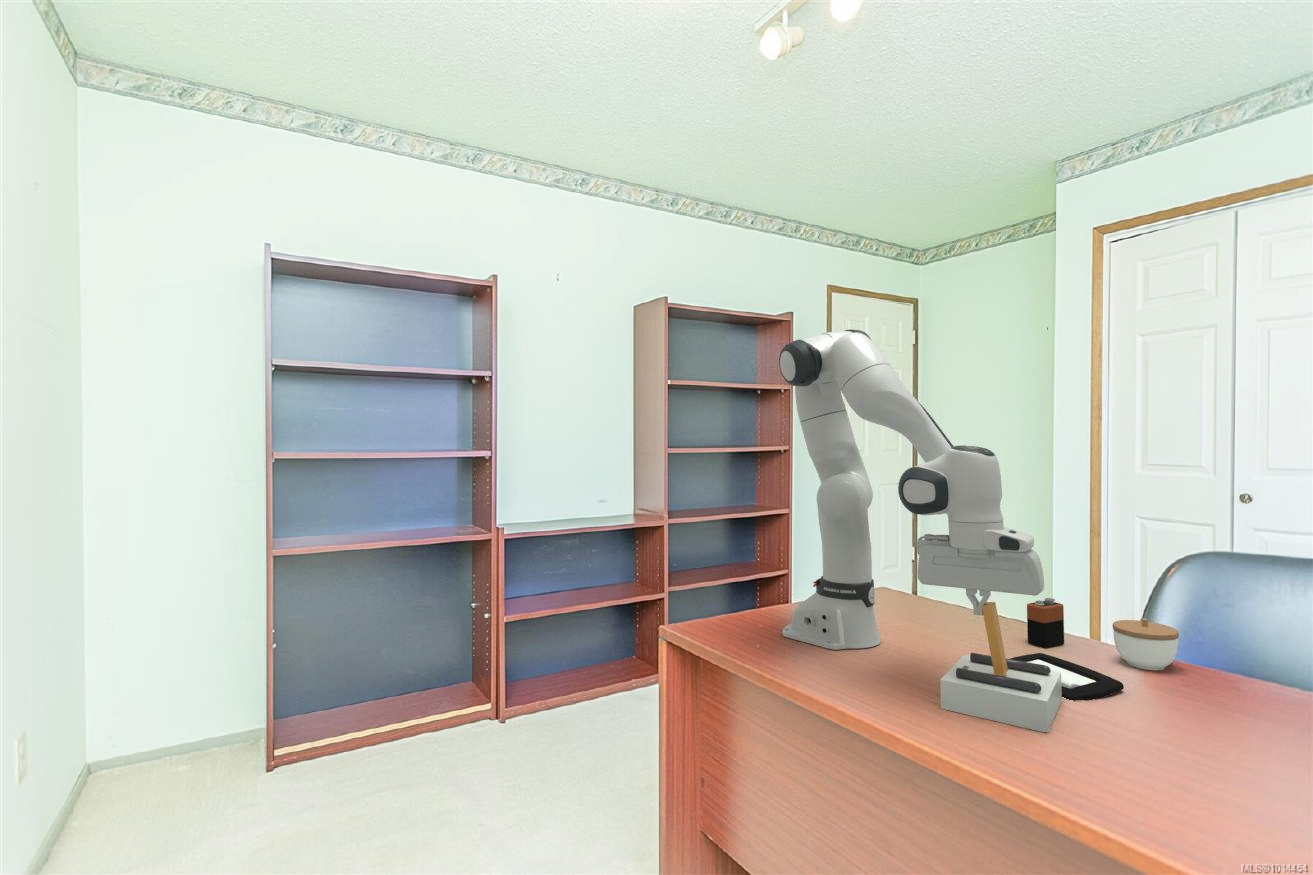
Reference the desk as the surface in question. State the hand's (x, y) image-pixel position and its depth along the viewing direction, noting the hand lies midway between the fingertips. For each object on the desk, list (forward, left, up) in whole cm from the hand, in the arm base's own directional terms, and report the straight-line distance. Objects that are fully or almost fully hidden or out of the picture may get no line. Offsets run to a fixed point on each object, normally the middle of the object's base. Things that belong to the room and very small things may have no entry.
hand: (979, 614), depth 115 cm
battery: (+4, +42, -16) cm, 45 cm away
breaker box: (+3, 0, -15) cm, 16 cm away
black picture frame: (+9, +19, -16) cm, 27 cm away
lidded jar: (+22, +38, -16) cm, 47 cm away
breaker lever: (+3, 0, -10) cm, 10 cm away
